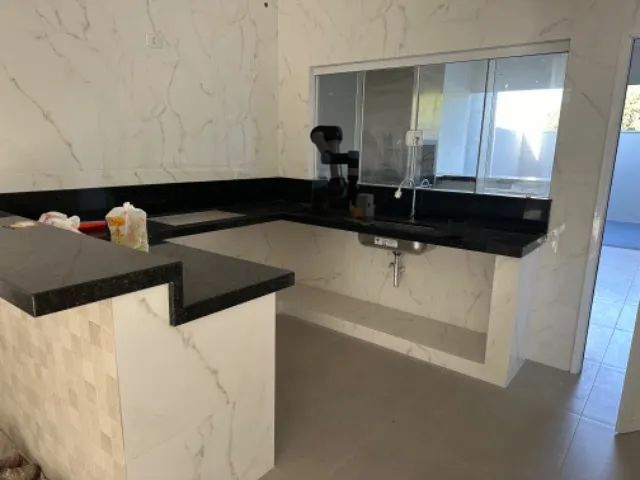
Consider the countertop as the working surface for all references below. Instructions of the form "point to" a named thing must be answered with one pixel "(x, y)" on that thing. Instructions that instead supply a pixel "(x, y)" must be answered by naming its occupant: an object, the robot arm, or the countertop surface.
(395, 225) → the countertop surface
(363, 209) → the supplement box
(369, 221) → the cord board
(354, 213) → the sleeve
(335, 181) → the robot arm
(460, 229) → the flower pot
